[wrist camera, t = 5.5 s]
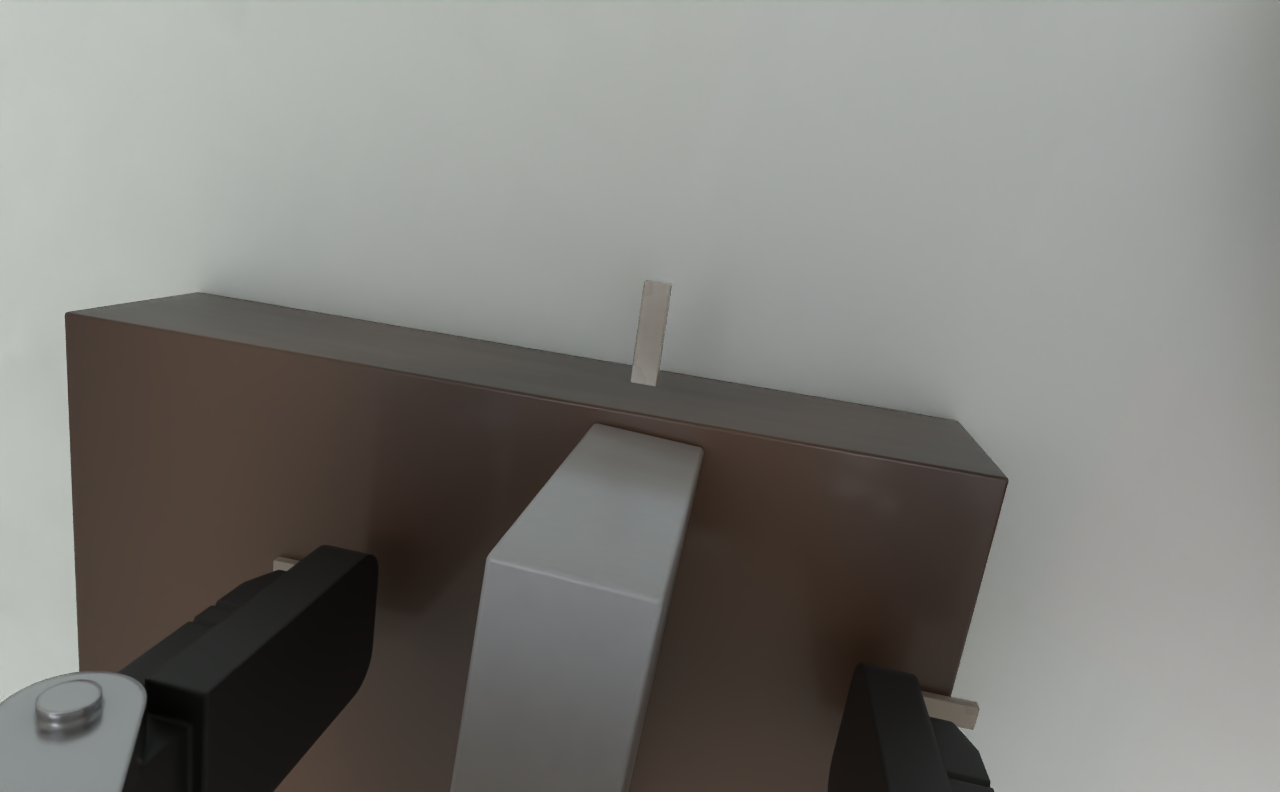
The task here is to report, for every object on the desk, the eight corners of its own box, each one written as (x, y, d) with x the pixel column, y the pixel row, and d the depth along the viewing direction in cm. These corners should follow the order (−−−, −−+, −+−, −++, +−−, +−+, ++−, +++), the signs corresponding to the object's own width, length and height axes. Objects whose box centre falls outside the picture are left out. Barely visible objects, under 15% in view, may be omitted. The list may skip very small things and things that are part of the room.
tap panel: (1007, 314, 13) (1080, 348, 10) (848, 944, 16) (866, 1113, 13) (197, 191, 15) (48, 187, 12) (197, 782, 18) (80, 899, 15)
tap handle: (593, 420, 11) (475, 566, 7) (705, 447, 11) (660, 613, 7) (523, 801, 13) (390, 1123, 8) (620, 828, 13) (537, 1174, 8)
